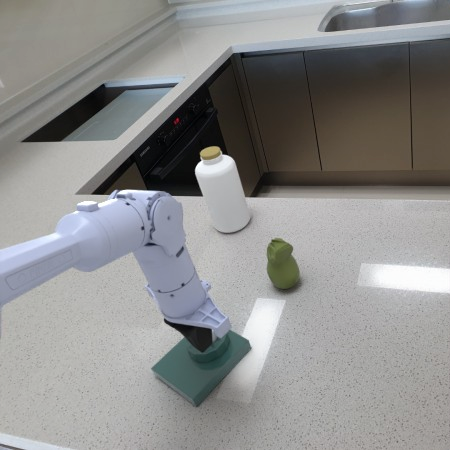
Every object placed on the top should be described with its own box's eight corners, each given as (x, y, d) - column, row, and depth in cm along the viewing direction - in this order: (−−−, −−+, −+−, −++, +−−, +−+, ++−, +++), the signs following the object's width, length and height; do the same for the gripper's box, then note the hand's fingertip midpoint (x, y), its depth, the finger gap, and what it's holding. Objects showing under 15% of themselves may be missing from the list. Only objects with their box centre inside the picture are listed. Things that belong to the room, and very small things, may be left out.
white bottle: (208, 233, 100) (181, 161, 89) (224, 211, 106) (201, 141, 95) (242, 236, 97) (219, 162, 86) (257, 212, 103) (237, 141, 92)
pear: (288, 269, 86) (277, 227, 80) (308, 281, 83) (298, 238, 77) (266, 286, 84) (253, 245, 78) (286, 299, 80) (274, 257, 74)
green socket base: (196, 407, 66) (188, 391, 64) (155, 375, 72) (145, 360, 70) (251, 348, 73) (245, 331, 71) (209, 323, 79) (203, 308, 76)
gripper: (236, 274, 54) (261, 347, 62) (161, 240, 62) (192, 307, 71) (192, 314, 50) (225, 386, 58) (118, 272, 58) (156, 340, 67)
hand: (204, 346), depth 64 cm, fingers closed
